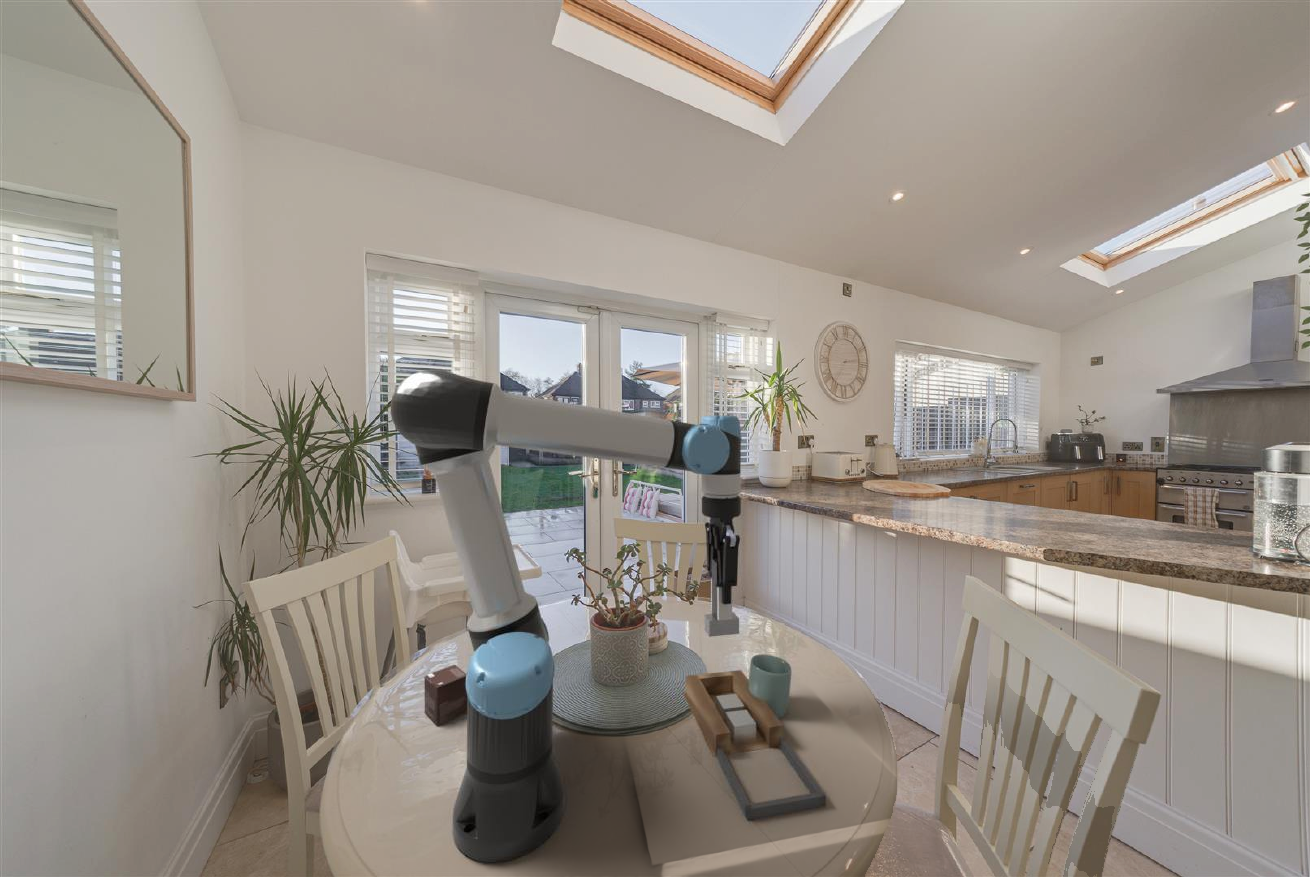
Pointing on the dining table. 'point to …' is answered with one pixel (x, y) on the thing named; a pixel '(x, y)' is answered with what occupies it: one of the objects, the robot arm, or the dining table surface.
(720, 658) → the dining table surface
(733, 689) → the slot board
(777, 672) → the cup
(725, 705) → the block
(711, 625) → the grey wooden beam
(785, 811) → the tray
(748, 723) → the chip front
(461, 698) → the box
